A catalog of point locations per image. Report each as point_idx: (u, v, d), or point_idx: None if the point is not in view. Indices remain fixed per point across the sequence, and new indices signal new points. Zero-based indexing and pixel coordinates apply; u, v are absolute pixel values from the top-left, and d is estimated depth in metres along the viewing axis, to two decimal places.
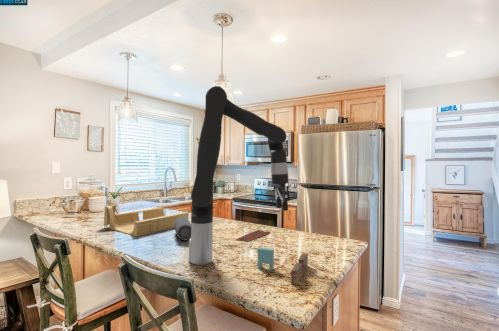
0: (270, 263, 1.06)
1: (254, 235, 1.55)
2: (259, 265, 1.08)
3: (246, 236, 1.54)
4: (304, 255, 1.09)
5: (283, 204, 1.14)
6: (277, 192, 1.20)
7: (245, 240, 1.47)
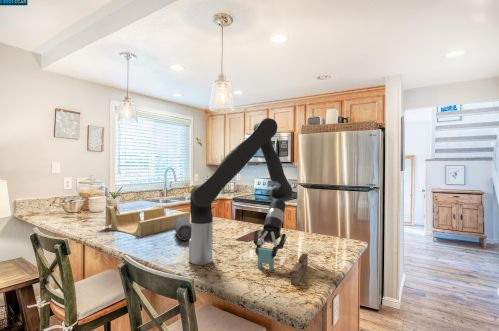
0: (270, 263, 1.06)
1: None
2: (259, 265, 1.08)
3: (246, 236, 1.54)
4: (304, 255, 1.09)
5: (274, 249, 1.06)
6: (265, 236, 1.12)
7: (245, 240, 1.47)
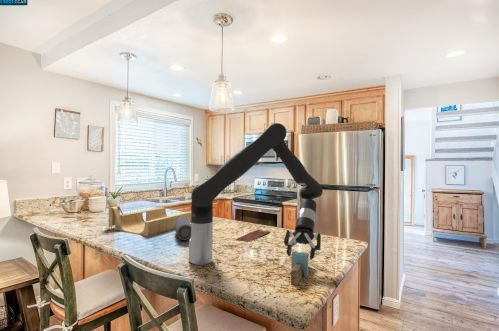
0: (305, 269, 1.00)
1: (254, 235, 1.56)
2: None
3: (246, 236, 1.55)
4: None
5: (312, 251, 1.01)
6: (298, 237, 1.06)
7: (245, 240, 1.47)
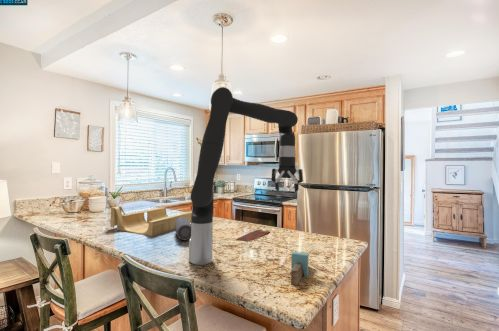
0: (305, 269, 1.00)
1: (254, 235, 1.56)
2: None
3: (246, 236, 1.55)
4: None
5: (296, 186, 1.19)
6: (282, 175, 1.21)
7: (245, 240, 1.48)
